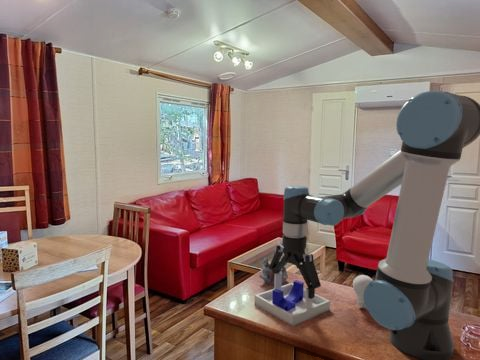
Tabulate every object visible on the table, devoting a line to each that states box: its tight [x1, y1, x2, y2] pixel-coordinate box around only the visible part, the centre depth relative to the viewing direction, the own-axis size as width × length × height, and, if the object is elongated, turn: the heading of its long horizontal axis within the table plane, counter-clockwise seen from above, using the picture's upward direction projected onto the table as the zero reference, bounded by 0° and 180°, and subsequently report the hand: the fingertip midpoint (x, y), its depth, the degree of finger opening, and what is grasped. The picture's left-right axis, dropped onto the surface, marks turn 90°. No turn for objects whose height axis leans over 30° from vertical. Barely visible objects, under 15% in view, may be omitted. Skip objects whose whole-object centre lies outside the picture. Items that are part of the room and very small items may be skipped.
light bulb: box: [352, 274, 374, 309], centre depth 114 cm, size 7×7×11 cm
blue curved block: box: [272, 279, 304, 311], centre depth 114 cm, size 12×4×6 cm, turn 133°
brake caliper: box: [259, 258, 288, 286], centre depth 134 cm, size 11×11×12 cm
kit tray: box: [254, 282, 331, 327], centre depth 114 cm, size 17×17×3 cm
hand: (292, 299), depth 114 cm, fingers open, 13 cm apart
